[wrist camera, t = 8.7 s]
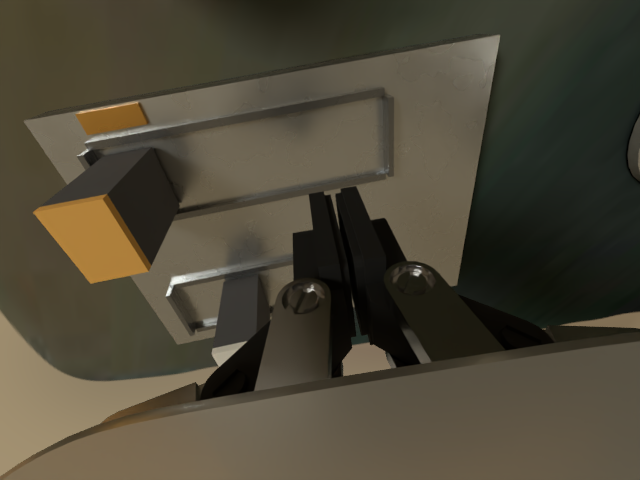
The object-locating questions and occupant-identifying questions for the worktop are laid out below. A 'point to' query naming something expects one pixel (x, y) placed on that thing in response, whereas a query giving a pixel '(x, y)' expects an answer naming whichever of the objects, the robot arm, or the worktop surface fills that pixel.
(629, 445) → the robot arm
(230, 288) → the fader
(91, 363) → the worktop surface
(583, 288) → the worktop surface
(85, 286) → the worktop surface
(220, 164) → the console
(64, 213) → the block
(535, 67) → the worktop surface
